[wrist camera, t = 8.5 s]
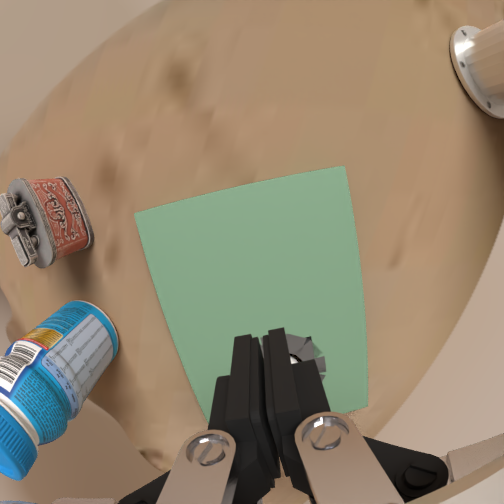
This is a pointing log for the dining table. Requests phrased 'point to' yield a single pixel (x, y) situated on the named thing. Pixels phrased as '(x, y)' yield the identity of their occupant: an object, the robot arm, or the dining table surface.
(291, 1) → the dining table surface
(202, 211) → the green board
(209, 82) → the dining table surface
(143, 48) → the dining table surface
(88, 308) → the beverage bottle
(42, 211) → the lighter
